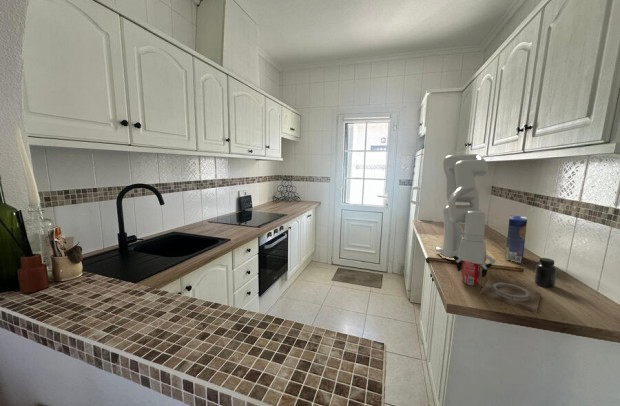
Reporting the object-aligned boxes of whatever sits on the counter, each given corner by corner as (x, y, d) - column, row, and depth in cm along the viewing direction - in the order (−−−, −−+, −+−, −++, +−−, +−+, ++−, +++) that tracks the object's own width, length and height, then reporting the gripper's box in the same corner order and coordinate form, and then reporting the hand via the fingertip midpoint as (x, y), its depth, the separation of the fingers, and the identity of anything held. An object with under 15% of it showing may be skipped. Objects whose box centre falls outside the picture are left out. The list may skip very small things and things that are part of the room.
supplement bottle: (548, 282, 116) (551, 257, 114) (558, 289, 109) (562, 263, 107) (530, 280, 118) (533, 256, 116) (539, 287, 111) (542, 262, 109)
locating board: (479, 294, 106) (480, 288, 106) (489, 282, 117) (489, 276, 117) (536, 312, 93) (536, 305, 93) (540, 296, 104) (541, 290, 104)
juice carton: (522, 263, 137) (527, 220, 133) (505, 260, 142) (509, 219, 138) (522, 256, 146) (526, 216, 142) (506, 254, 151) (510, 215, 147)
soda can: (473, 279, 120) (475, 255, 118) (482, 286, 113) (484, 261, 111) (458, 279, 121) (460, 255, 119) (465, 286, 114) (467, 261, 112)
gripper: (450, 235, 117) (447, 270, 119) (494, 243, 104) (491, 281, 107) (455, 232, 122) (453, 265, 124) (498, 239, 109) (495, 276, 112)
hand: (471, 273), depth 115 cm, fingers open, 9 cm apart
